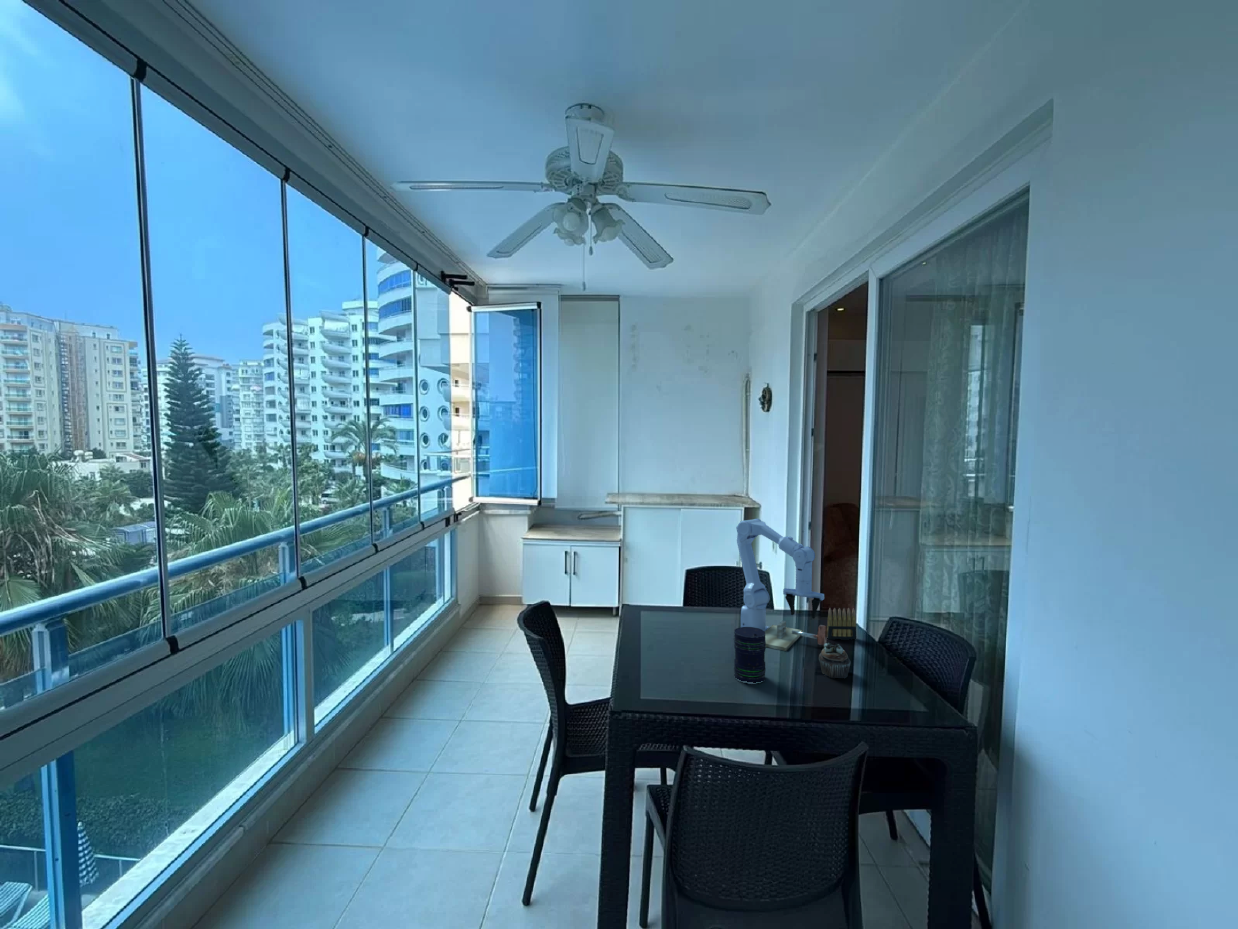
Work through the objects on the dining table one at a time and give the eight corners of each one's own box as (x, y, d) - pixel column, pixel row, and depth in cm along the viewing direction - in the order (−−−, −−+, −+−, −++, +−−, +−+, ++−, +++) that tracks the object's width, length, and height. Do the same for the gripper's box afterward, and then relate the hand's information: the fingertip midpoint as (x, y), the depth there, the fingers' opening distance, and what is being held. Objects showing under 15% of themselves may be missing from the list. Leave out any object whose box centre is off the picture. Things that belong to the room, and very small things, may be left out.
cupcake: (853, 681, 175) (853, 650, 175) (821, 678, 177) (821, 647, 176) (847, 669, 184) (847, 639, 184) (816, 666, 186) (816, 637, 186)
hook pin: (789, 641, 207) (789, 623, 207) (794, 636, 213) (794, 617, 213) (822, 648, 200) (823, 628, 200) (827, 642, 206) (827, 623, 206)
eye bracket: (753, 644, 207) (753, 628, 207) (772, 627, 225) (772, 612, 225) (786, 651, 200) (786, 634, 200) (802, 633, 219) (802, 617, 218)
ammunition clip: (854, 638, 213) (855, 607, 213) (856, 640, 211) (857, 608, 211) (826, 637, 214) (826, 606, 213) (827, 639, 212) (828, 608, 212)
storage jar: (727, 674, 180) (727, 629, 180) (752, 669, 184) (752, 625, 184) (746, 687, 171) (746, 639, 171) (772, 681, 175) (772, 634, 174)
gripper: (780, 579, 207) (780, 615, 208) (821, 585, 199) (820, 622, 200) (786, 575, 213) (786, 610, 214) (825, 580, 205) (825, 617, 206)
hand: (803, 616), depth 207 cm, fingers open, 7 cm apart
